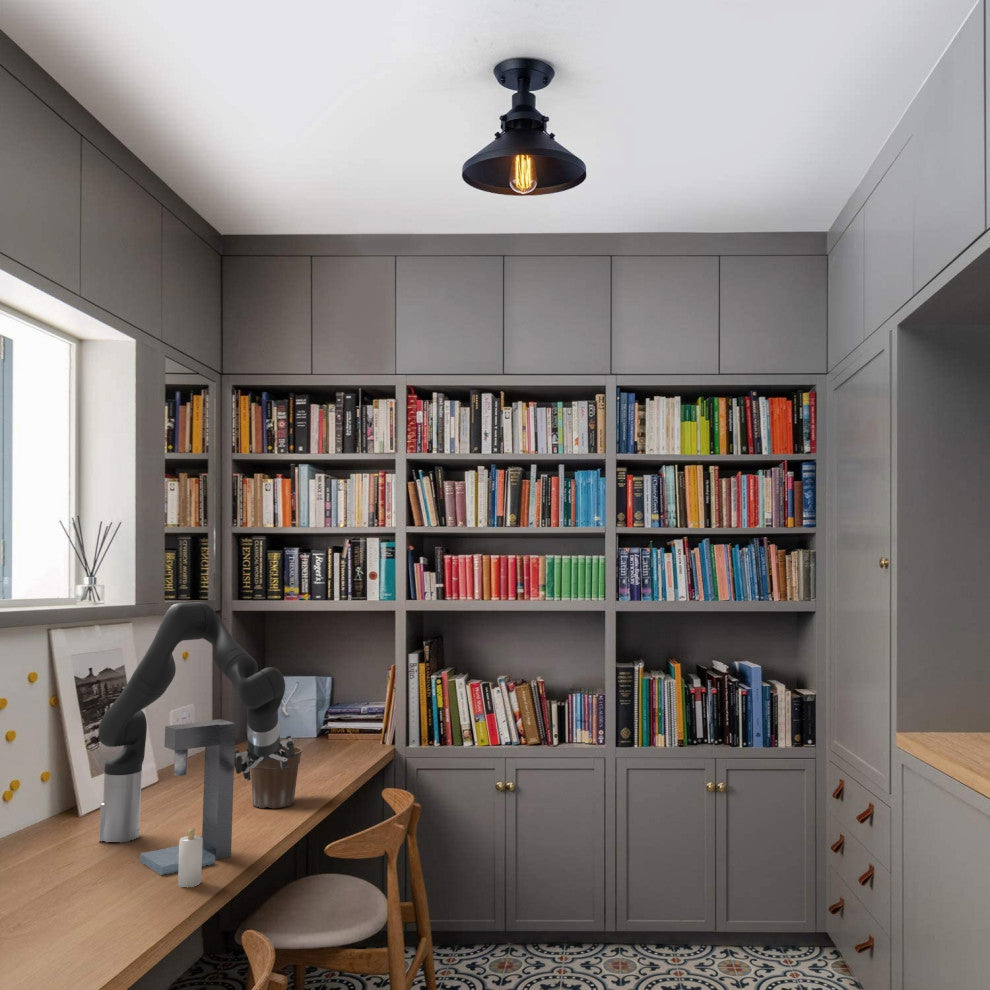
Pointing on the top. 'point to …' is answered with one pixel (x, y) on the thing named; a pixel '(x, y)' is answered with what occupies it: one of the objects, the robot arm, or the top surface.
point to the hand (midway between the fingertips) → (265, 772)
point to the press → (216, 789)
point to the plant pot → (275, 782)
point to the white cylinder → (190, 860)
